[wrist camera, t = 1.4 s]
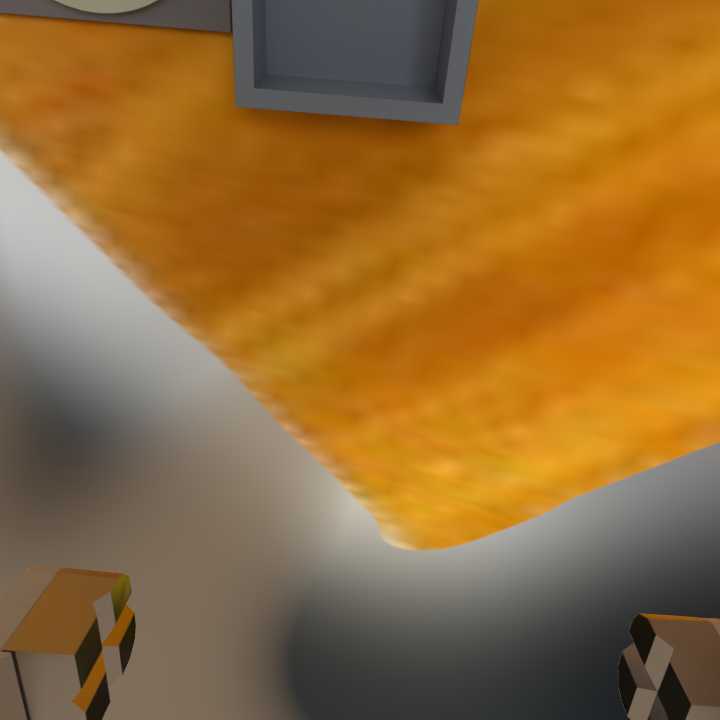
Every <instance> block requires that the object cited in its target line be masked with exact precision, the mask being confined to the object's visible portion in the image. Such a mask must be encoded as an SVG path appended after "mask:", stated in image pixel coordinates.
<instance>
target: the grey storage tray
mask: <svg viewBox="0 0 720 720" xmlns="http://www.w3.org/2000/svg"><path fill="white" fill-rule="evenodd" d="M477 4H478V0H232V23H233V50H234V76H235V103H236V107H243V108H256V109H268V110H280V111H292V112H304V113H317V114H329V115H341V116H353V117H366V118H378V119H390V120H402V121H414V122H427V123H439V124H451V125H458V123H459V117H460V111H461V105H462V98H463V92H464V86H465V80H466V73H467V67H468V61H469V55H470V48H471V42H472V36H473V29H474V23H475V17H476V11H477Z"/></svg>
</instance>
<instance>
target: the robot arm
mask: <svg viewBox="0 0 720 720" xmlns="http://www.w3.org/2000/svg"><path fill="white" fill-rule="evenodd" d="M131 593H132V589H131V583H130V577H129V576H128V575H125V574H121V573H111V572H101V571H92V570H82V569H73V568H56V567H48V566H38V565H34V566H32V567H30V568H29V569H27V570H25V571H24V572H23V573H22V575H21V576H20V577H19V579H18V580H17V581H16V582H15V584H14V585H13V586H12V588H11V589H10V590H9V591H8V593H7V594H6V595H5V597H4V598H3V599H2V600H1V602H0V720H102V719H103V716H104V714H105V712H106V710H107V708H108V706H109V704H110V696H109V690H108V686H109V685H110V684H112V683H113V682H114V681H116V680H117V679H118V678H120V677H121V676H122V675H123V673H124V671H125V668H126V666H127V664H128V662H129V659H130V656H131V652H132V648H133V644H134V640H135V629H136V622H135V613H134V612H133V611H132V610H131V609H130V608H129V607H128V606H127V604H126V603H127V601H128V599H129V597H130V595H131ZM629 632H630V635H631V637H632V639H633V641H634V643H633V644H632V645H631V646H629V647H628V648H627V649H625V650H624V651H622V654H621V658H620V661H619V665H618V687H619V691H620V695H621V700H622V703H623V706H624V709H625V711H626V714H627V716H628V717H629V718H630V719H631V720H720V619H713V618H702V619H701V618H697V617H682V616H668V615H653V614H638V615H637V616H636V617H635V618H634V619H633V621H632V624H631V627H630V630H629Z"/></svg>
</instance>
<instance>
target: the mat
mask: <svg viewBox="0 0 720 720" xmlns="http://www.w3.org/2000/svg"><path fill="white" fill-rule="evenodd" d="M0 13H9V14H20V15H32V16H43V17H55V18H67V19H78V20H90V21H101V22H113V23H125V24H136V25H148V26H159V27H171V28H183V29H194V30H206V31H217V32H229V33H231V32H233V23H232V0H159V1H157V2H155V3H153V4H151V5H149V6H146V7H143V8H140V9H136V10H132V11H127V12H120V13H95V12H89V11H83V10H79V9H76V8H73V7H69V6H66V5H64V4H62V3H60V2H57V1H55V0H0Z"/></svg>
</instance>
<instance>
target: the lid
mask: <svg viewBox="0 0 720 720" xmlns="http://www.w3.org/2000/svg"><path fill="white" fill-rule="evenodd" d="M55 1H57V2H60V3H62V4H64V5H66V6H69V7H73V8H76V9H79V10H83V11H89V12H95V13H120V12H127V11H132V10H136V9H140V8H143V7H146V6H149V5H151V4H153V3H155V2H157V1H159V0H55Z"/></svg>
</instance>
